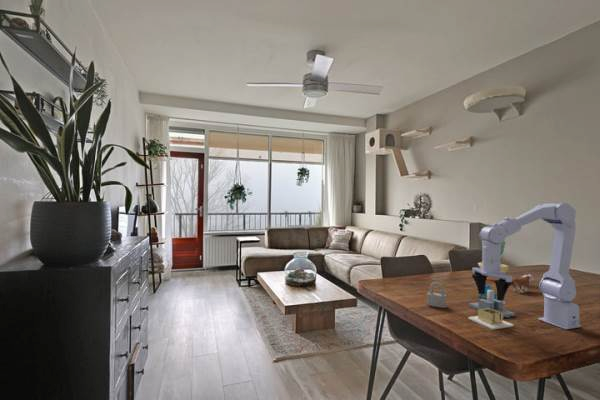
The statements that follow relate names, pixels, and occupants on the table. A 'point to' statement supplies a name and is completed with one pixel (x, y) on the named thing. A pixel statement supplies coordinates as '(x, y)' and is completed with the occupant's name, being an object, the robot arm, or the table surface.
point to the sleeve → (490, 316)
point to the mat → (493, 326)
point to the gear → (486, 292)
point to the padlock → (436, 297)
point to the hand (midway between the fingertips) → (490, 296)
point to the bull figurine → (522, 282)
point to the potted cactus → (503, 267)
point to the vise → (491, 304)
